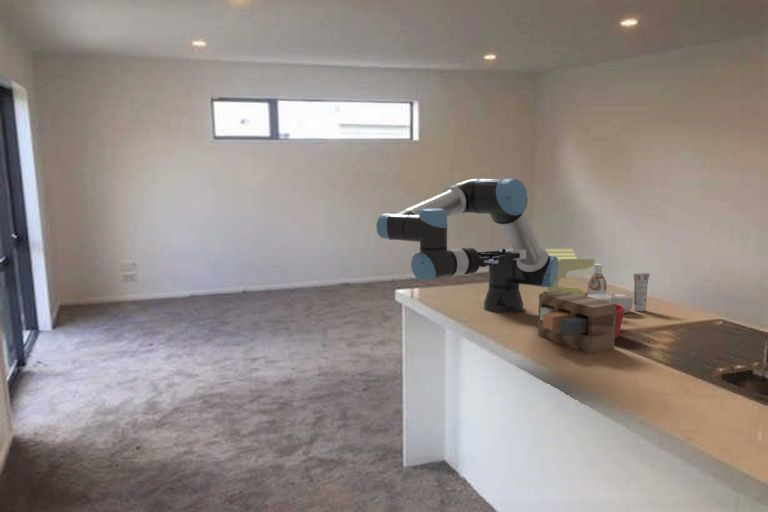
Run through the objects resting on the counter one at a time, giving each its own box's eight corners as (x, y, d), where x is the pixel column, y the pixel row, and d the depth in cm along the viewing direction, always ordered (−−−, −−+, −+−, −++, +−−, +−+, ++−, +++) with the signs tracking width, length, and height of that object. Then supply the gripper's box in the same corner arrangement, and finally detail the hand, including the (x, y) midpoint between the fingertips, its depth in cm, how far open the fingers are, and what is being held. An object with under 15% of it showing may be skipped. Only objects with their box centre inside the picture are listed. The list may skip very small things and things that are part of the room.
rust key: (542, 327, 181) (543, 314, 181) (566, 322, 186) (566, 310, 186) (552, 330, 178) (552, 317, 177) (576, 325, 183) (576, 313, 182)
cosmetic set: (639, 307, 230) (642, 260, 227) (655, 313, 221) (658, 263, 218) (581, 311, 225) (583, 262, 222) (594, 317, 216) (597, 266, 213)
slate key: (560, 332, 175) (560, 319, 175) (584, 327, 180) (584, 315, 180) (570, 335, 172) (571, 322, 171) (594, 330, 177) (595, 317, 176)
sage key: (539, 319, 190) (540, 307, 189) (562, 315, 195) (562, 303, 194) (548, 322, 187) (549, 310, 186) (571, 318, 191) (572, 306, 191)
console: (538, 335, 193) (539, 293, 191) (560, 331, 198) (561, 290, 196) (590, 353, 174) (593, 307, 172) (614, 348, 179) (616, 303, 177)
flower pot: (580, 333, 196) (582, 304, 194) (606, 329, 200) (607, 301, 198) (604, 341, 186) (605, 311, 185) (630, 337, 190) (632, 308, 189)
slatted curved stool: (536, 287, 269) (537, 248, 266) (571, 287, 269) (572, 248, 266) (553, 302, 240) (554, 259, 237) (592, 302, 239) (594, 259, 236)
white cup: (611, 327, 202) (613, 299, 201) (587, 326, 204) (588, 298, 202) (607, 321, 210) (609, 294, 208) (584, 320, 211) (585, 293, 210)
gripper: (448, 270, 175) (510, 262, 187) (475, 278, 164) (539, 269, 175) (448, 245, 174) (510, 239, 185) (476, 251, 163) (539, 244, 174)
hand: (524, 253), depth 180 cm, fingers closed
